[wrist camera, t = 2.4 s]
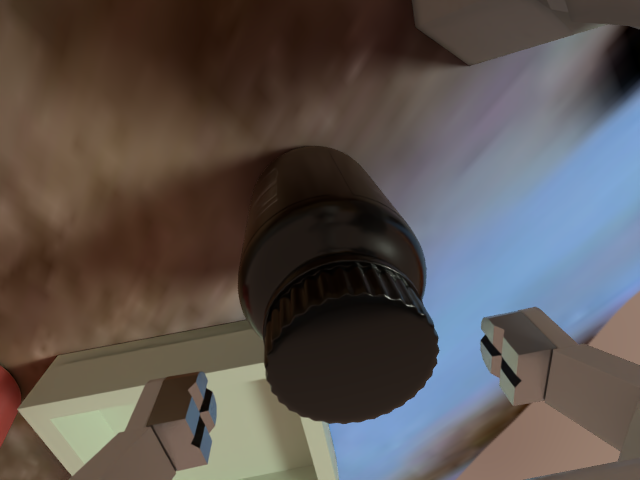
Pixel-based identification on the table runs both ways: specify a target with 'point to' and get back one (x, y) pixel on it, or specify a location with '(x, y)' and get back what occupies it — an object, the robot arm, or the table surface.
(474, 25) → the coffee maker
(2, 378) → the flower pot
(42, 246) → the table surface
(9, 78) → the table surface
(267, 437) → the tray
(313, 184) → the supplement bottle
